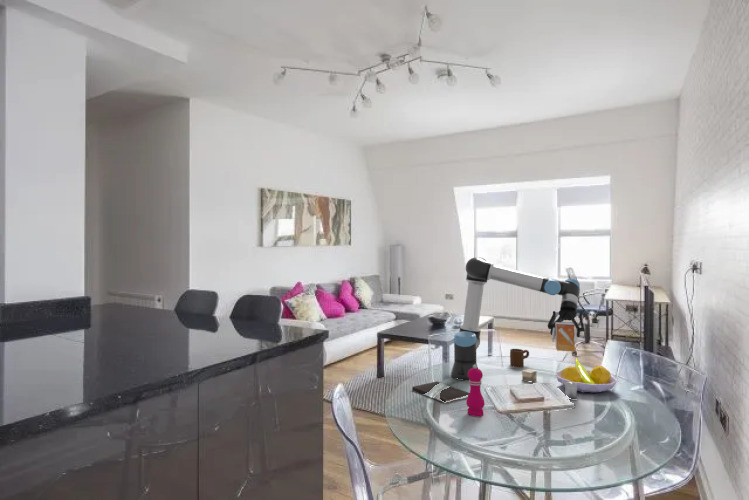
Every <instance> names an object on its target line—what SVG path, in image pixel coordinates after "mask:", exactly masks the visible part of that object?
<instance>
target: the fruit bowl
mask: <svg viewBox="0 0 749 500" xmlns="http://www.w3.org/2000/svg"><path fill="white" fill-rule="evenodd" d="M554 374H555V377H556V378H557V381H558V382H559V383H560V384H562V385H564V386H565V382H566V381H571V382H575V383H577V391H578V390H579V391H578V392H581V391H583V392H582V393H584V392H591V393H603V392H606V391H609V390H613V389H614V387H615V385H616V383H617V382H618V380H617V379H616V378H615V377H614V376H612V375H611V371H609V370H608V369H606V368H605V367H604V366H602V365H596V366H594V367H593V368H592V369H591V370H587V369H586V367H584V365H582V363H580V361H579V359H578V358H575V365H574V366H571V365H569V366H567V367H565V368H563V369H562V370H559V371H556V372H554ZM602 391H603V392H602Z"/></svg>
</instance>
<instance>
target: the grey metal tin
mask: <svg viewBox="0 0 749 500" xmlns="http://www.w3.org/2000/svg"><path fill="white" fill-rule="evenodd" d="M565 394H566V395H567V396H568V397H569V398H571V399H577V400H578V390H577V383H575V382H571V381H566V382H565V385H564V395H565Z"/></svg>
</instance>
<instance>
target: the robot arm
mask: <svg viewBox="0 0 749 500" xmlns="http://www.w3.org/2000/svg"><path fill="white" fill-rule="evenodd" d="M465 271H466V279H465V280H466V281H467V283H468V284H467V290H466V292H467V293H466V300H465V307H464V316H463V322H462V325H460V326H459V331H458V332H456V333H455V334H454V336H453V337H454V338H453V347H454V349H453V350H454V351H453V352H454V355H453V358H454V362H453V365H452V368H451V370H450V371H451V372H450V376H451V378H453V379H454V378H458V379H463V380H462V381H465V380H470V379H469V377H468V371H469V370H470V369H471V368H473V365H474V364H476V365H477V368H478V369H479V367H478V364H477V349H478V348H479V347H480V344H481V332H482V331H481V328H480V327H479V325H480V317H481V310H482V302H483V295H484V294H483V293H484V286H485V285H486V284H487V283H488V281H490V280H493V281H497V282H501V283H503V284H504V283H505V284H508V285H509V284H510V285H513V286H517V287H521V288H525V289H529V290H533V291H536V292H539V293H543V294H548V295H550V296H556V295H559V296H561V302H560V303H561V304H560V308H559V309H560V310H559V311H555V310H553V311H552V316H551V317H550V319H549V321H548V323H547V329H548V330H550V335H551V337H550V338H551V341H552V342H553V343H554V342H555V340H556V339H555V322H564V321H571V323H573V324H574V329H575V336H574V343H575V345H577V344H578V343H577V342H578V338H580V336H581V332H585V331H586V330H585V326H584V321H583V318H584V315H583V312H578V311H577V310H578V309H577V308H578V303H579V302H578V301H579V294H580V290H581V289H580V282H579V281H578V280H577V279H575V278H567V279H566V280H558V279H554V278H550V277H545V276H539V275H535V274H531V273H526V272H522V271H518V270H514V269H512V268H507V267H501V266H499V265H498V266H497V265H494V263H493V262H489V261H487V260H486V259H485V258H483V257H471V258H470V259H468V260H467V262H466V264H465ZM576 317H578V319H579V323H580V326H579V324H578V322H577V321H576ZM458 379H457V380H458Z"/></svg>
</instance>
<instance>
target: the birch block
mask: <svg viewBox="0 0 749 500" xmlns="http://www.w3.org/2000/svg"><path fill="white" fill-rule="evenodd" d="M537 372H538V371H536V370H532V369H530V368H528V369H523V370H522V372H521V375H522V376H521V377H522V381H524V380H526V381H525V382H528V381H534V382H537V376H538V375H537Z"/></svg>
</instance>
